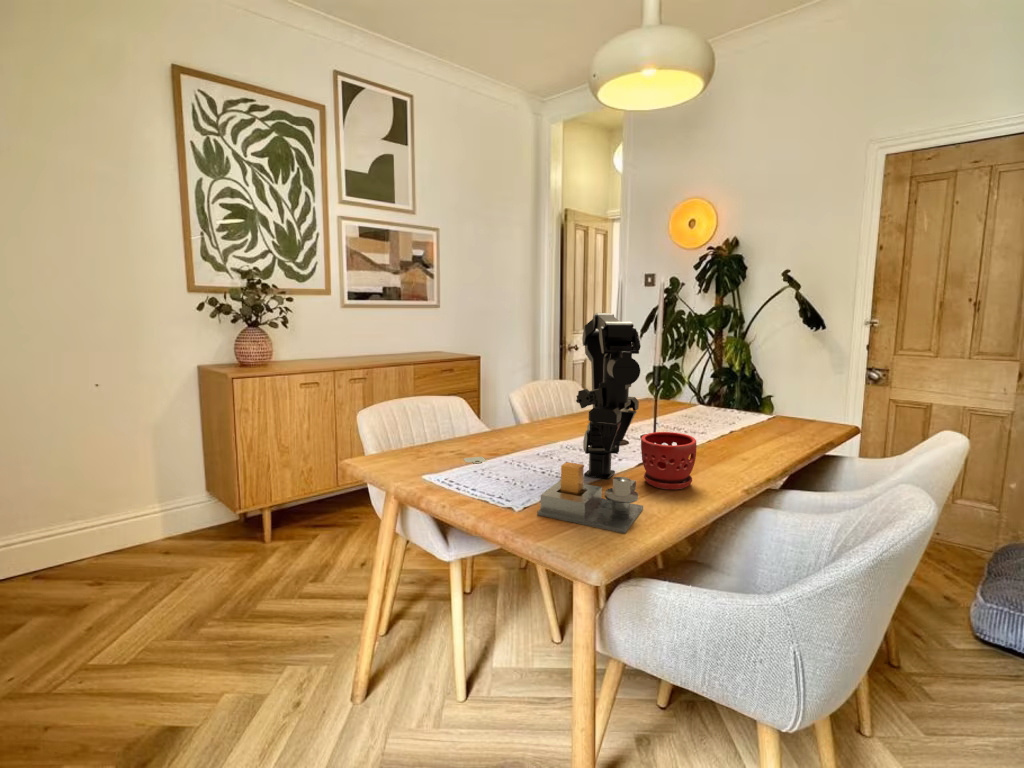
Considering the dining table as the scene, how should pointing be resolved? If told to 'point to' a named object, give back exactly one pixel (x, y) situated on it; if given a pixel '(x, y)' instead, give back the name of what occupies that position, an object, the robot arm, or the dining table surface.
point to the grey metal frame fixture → (594, 505)
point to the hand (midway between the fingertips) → (613, 445)
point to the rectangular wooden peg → (572, 478)
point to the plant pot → (668, 459)
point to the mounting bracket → (475, 460)
